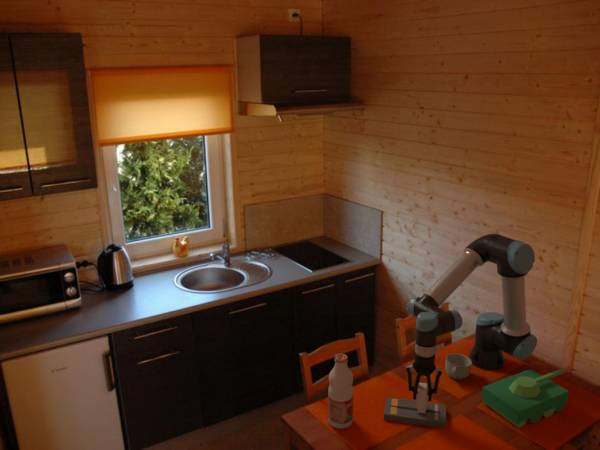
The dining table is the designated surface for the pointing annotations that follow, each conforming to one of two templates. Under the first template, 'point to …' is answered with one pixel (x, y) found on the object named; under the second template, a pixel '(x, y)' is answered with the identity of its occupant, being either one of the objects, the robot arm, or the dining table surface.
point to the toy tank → (525, 396)
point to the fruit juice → (340, 394)
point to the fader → (422, 398)
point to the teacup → (457, 365)
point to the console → (414, 413)
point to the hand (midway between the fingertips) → (421, 406)
